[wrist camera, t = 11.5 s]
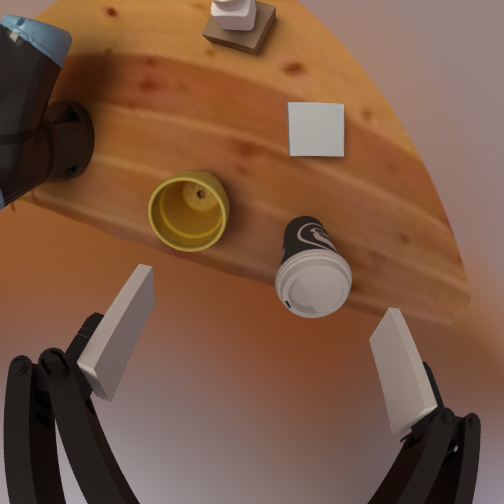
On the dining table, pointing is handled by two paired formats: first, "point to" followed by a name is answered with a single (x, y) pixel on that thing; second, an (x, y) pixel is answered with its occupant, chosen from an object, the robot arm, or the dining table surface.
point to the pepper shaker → (234, 14)
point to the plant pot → (189, 210)
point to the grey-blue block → (315, 129)
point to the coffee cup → (311, 271)
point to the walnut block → (243, 31)
